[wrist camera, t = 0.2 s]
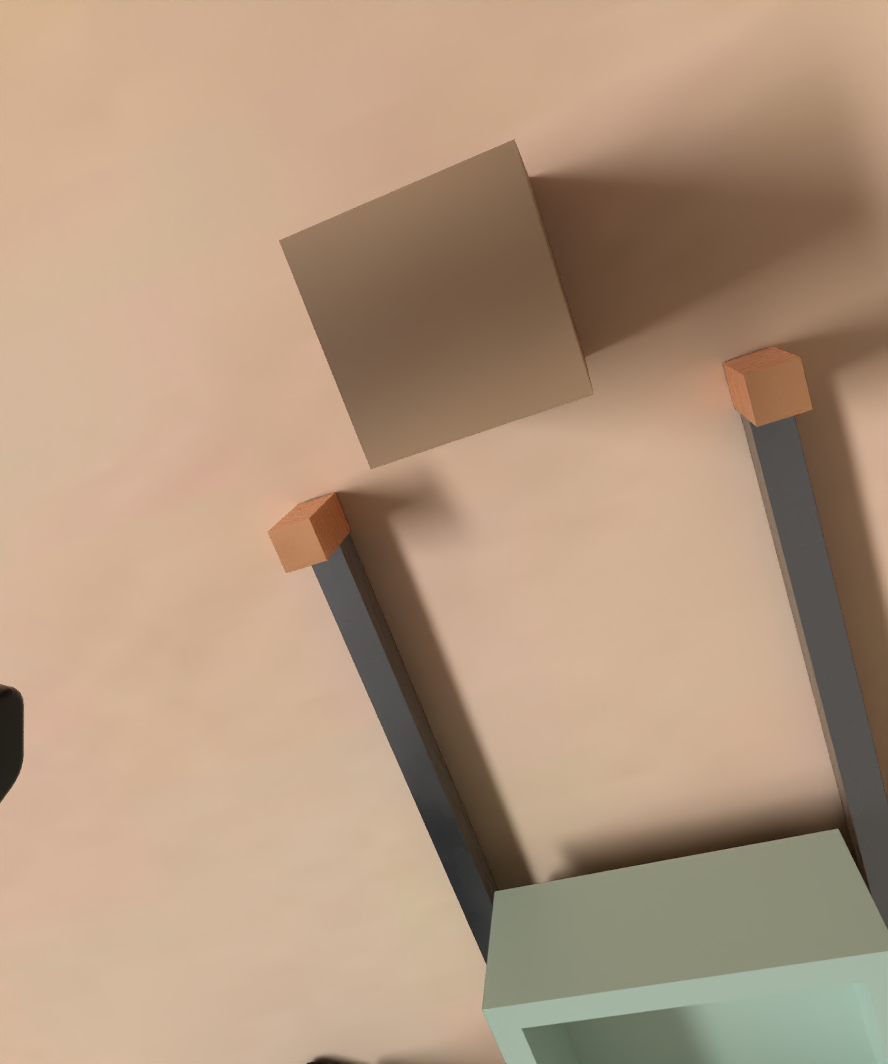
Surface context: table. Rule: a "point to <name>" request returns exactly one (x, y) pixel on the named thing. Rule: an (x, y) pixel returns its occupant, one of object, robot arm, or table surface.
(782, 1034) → the sage green storage bin
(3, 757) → the robot arm
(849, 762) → the rails
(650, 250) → the table surface
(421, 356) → the walnut block
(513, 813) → the table surface
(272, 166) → the table surface
